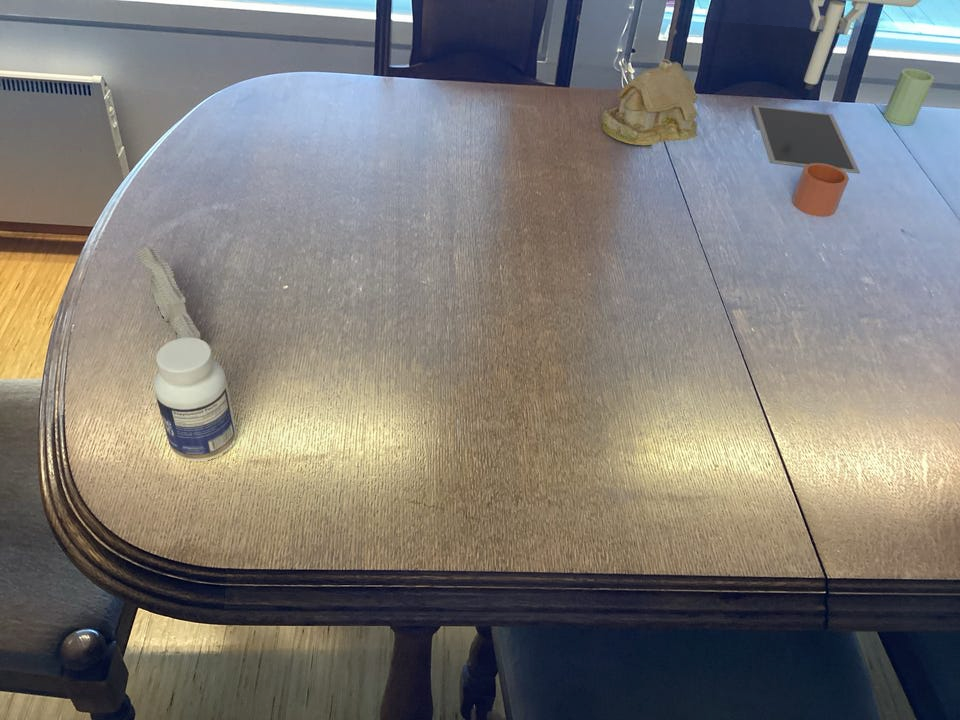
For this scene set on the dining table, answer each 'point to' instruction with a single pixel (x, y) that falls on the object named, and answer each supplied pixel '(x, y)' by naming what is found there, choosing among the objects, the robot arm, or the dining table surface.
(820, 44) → the stylus
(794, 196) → the cup
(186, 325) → the beige ridged long part
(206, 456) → the pill bottle
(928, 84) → the pen cup
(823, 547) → the dining table surface
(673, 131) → the ceramic model
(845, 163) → the tablet
